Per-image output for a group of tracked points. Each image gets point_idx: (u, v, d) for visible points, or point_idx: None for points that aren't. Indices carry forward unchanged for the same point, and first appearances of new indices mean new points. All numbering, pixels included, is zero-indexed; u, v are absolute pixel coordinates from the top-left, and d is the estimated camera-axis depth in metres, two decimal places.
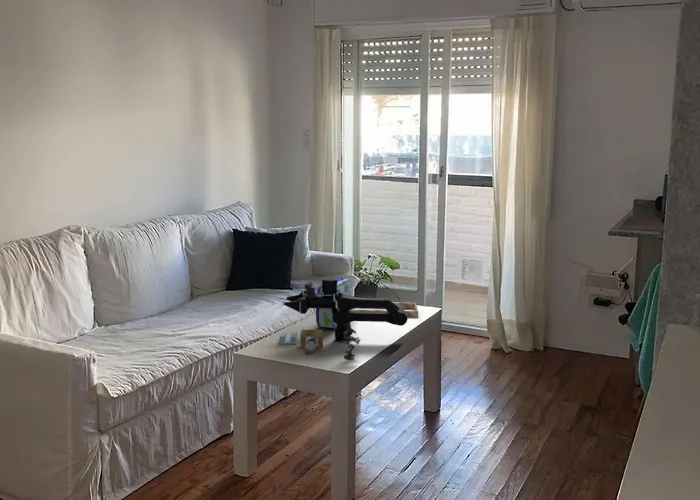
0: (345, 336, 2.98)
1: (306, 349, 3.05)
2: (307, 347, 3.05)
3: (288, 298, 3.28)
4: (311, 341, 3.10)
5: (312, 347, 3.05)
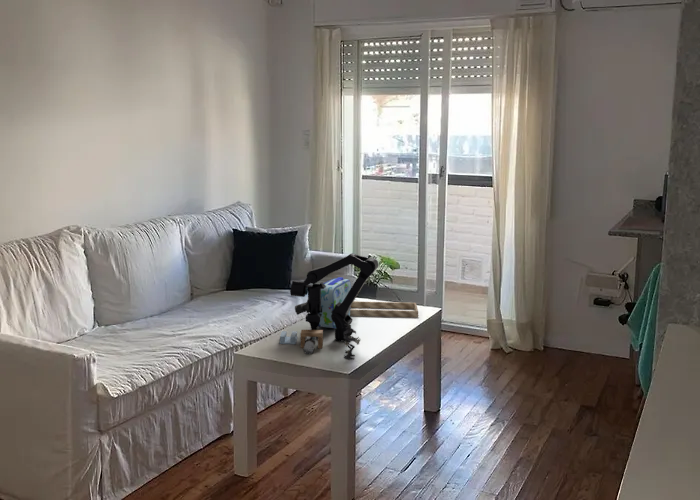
0: (345, 336, 2.98)
1: (305, 350, 3.05)
2: (305, 348, 3.05)
3: None
4: (308, 341, 3.10)
5: (310, 346, 3.05)
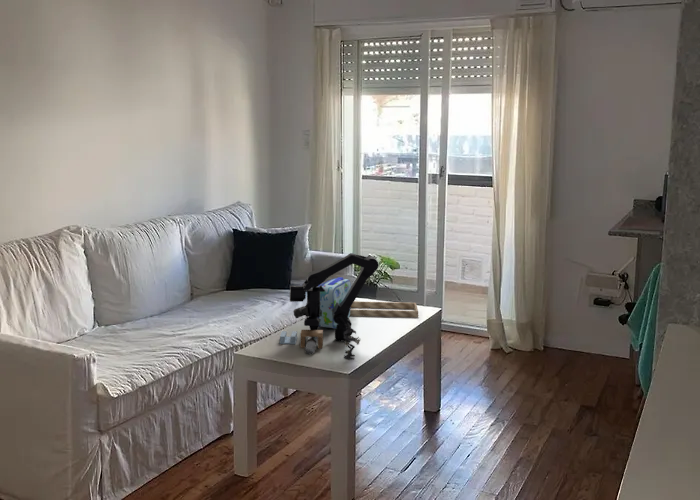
0: (345, 336, 2.98)
1: (306, 349, 3.05)
2: (307, 347, 3.05)
3: None
4: (311, 341, 3.10)
5: (312, 347, 3.05)
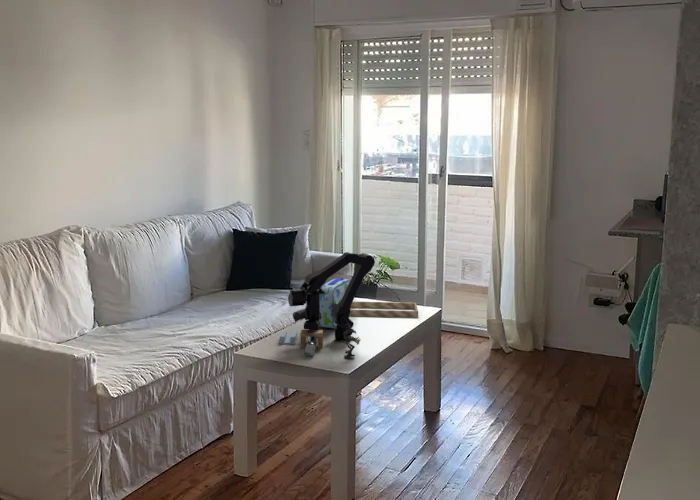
0: (345, 336, 2.98)
1: (305, 352, 3.01)
2: (306, 350, 3.01)
3: None
4: (310, 344, 3.06)
5: (311, 350, 3.01)
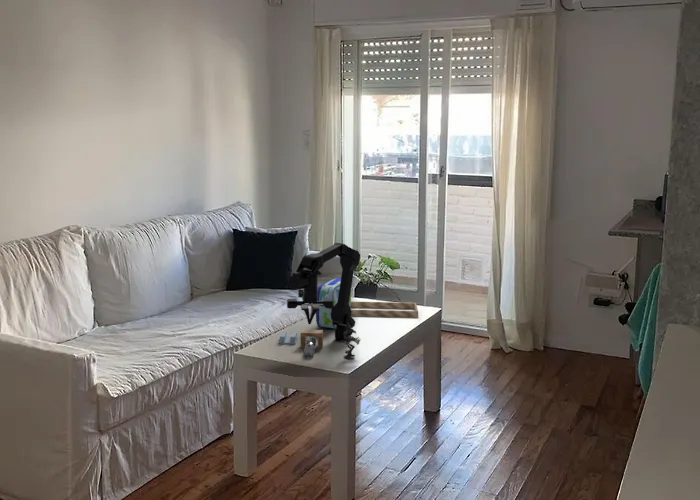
0: (345, 336, 2.98)
1: (305, 352, 3.01)
2: (306, 350, 3.01)
3: None
4: (310, 344, 3.06)
5: (311, 350, 3.01)
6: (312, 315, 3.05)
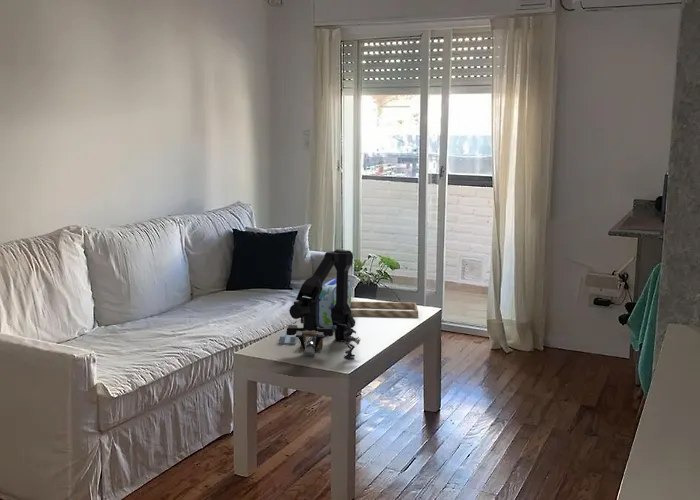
0: (345, 336, 2.98)
1: (305, 352, 3.01)
2: (306, 350, 3.01)
3: None
4: (310, 344, 3.06)
5: (311, 350, 3.01)
6: (317, 343, 3.03)
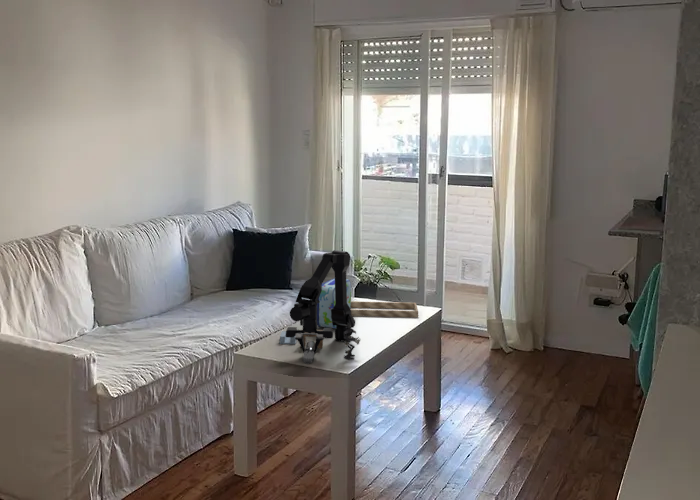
0: (345, 336, 2.98)
1: (304, 358, 2.93)
2: (305, 356, 2.93)
3: (314, 351, 3.02)
4: (309, 350, 2.98)
5: (310, 356, 2.93)
6: (316, 345, 3.00)
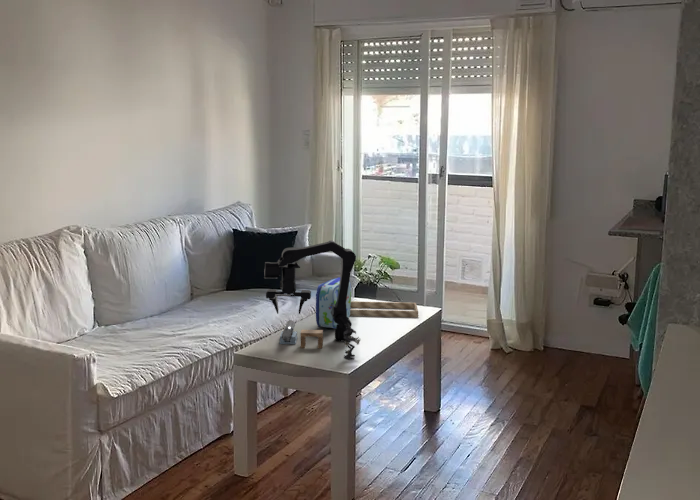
0: (345, 336, 2.98)
1: (282, 336, 3.13)
2: (283, 334, 3.13)
3: None
4: (287, 328, 3.17)
5: (288, 334, 3.13)
6: (300, 306, 3.18)
